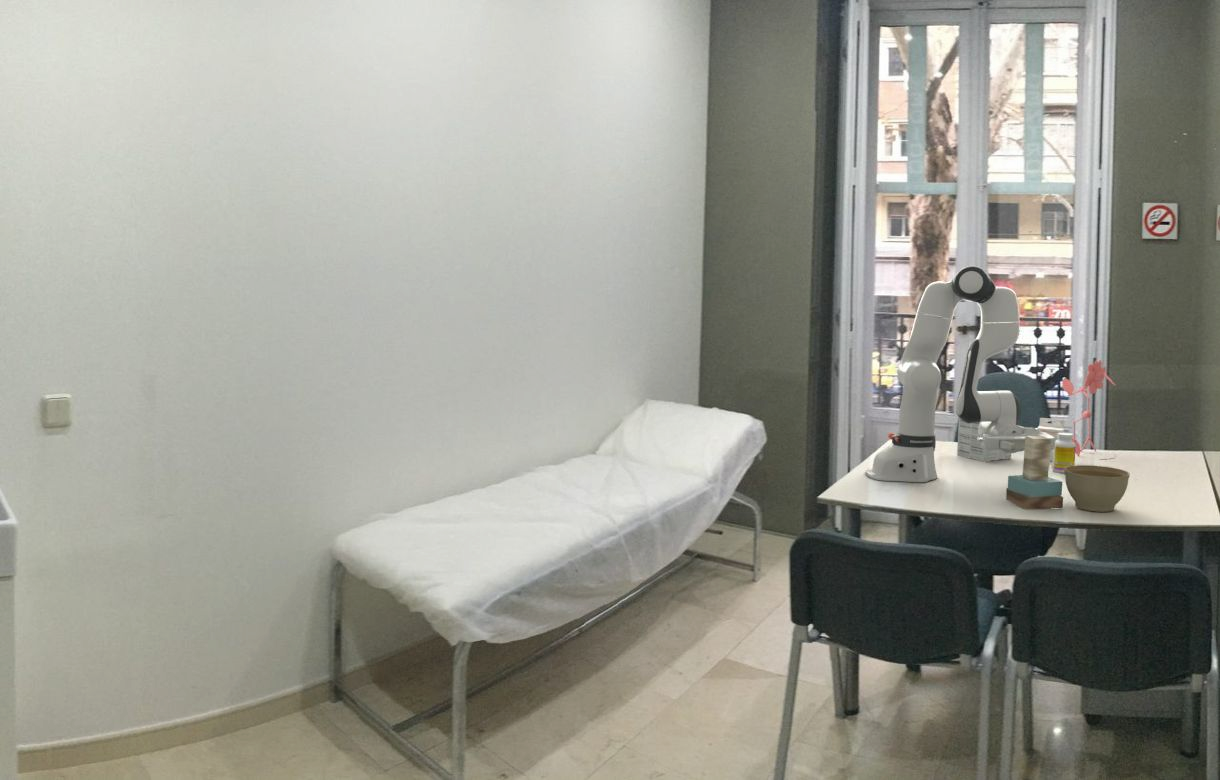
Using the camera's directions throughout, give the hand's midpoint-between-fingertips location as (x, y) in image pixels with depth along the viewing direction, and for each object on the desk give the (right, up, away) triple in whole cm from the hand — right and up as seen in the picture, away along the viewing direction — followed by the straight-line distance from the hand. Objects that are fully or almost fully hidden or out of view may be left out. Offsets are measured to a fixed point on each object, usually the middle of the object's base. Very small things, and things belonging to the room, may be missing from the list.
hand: (1028, 446), depth 258 cm
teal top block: (0, -13, -2) cm, 13 cm away
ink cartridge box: (+35, -9, +59) cm, 69 cm away
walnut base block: (0, -17, -2) cm, 17 cm away
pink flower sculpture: (+54, -8, +67) cm, 86 cm away
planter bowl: (+15, -17, -7) cm, 24 cm away
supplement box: (+14, -8, +65) cm, 67 cm away
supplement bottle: (+31, -11, +40) cm, 52 cm away
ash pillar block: (0, -9, -3) cm, 9 cm away
